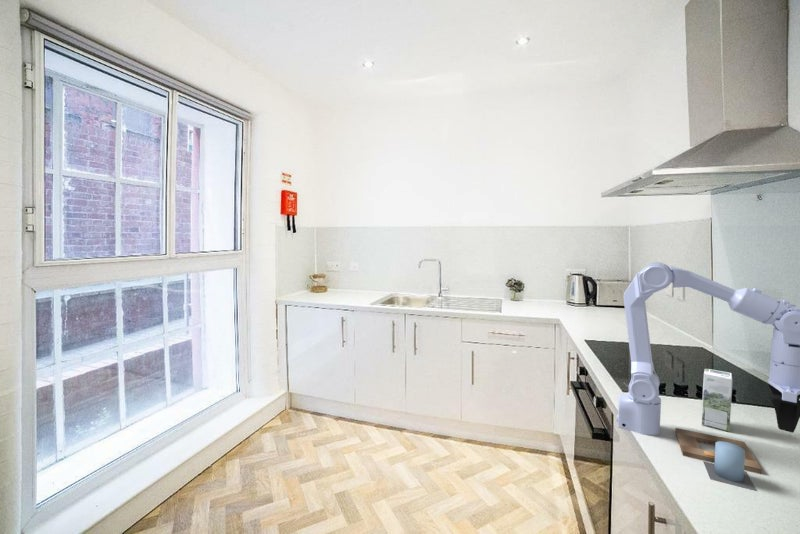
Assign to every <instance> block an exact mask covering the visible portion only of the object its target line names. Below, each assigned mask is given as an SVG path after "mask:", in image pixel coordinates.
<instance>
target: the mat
mask: <svg viewBox="0 0 800 534" xmlns="http://www.w3.org/2000/svg"><path fill="white" fill-rule="evenodd" d="M702 462H703V464H704V467H705V470H706V472H707V475H708V476H709V479H710V480H712V481H716V482H719V483H723V484H728V485H731V486H733V487H739V488H743V489H747V490H751V491H754V492H758V490H757V488H756V486H755V484H754V483H753V481H752V479H751V478H750V475H749V474H748V471H746V470H744V481H743V482H732V481H729V480H726V479H723V478H721V477H720V476H718V475H717V474H716V473H715V472H714V464H715V463H712V462H708V461H704V460H702Z"/></svg>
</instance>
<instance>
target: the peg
mask: <svg viewBox="0 0 800 534" xmlns="http://www.w3.org/2000/svg"><path fill="white" fill-rule="evenodd" d="M714 452H715V463H713V464H714V472H715V473H716V474H717V475H718V476H720V477H721V478H723V479H726V480H729V481H732V482H743V481H744V471H745V470H744V464H745V450H744V449H743V448H741V447H740V446H738V445H735V444H732V443H729V442H724V441H718V442H716V443H715V445H714Z"/></svg>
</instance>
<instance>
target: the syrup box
mask: <svg viewBox="0 0 800 534" xmlns="http://www.w3.org/2000/svg"><path fill="white" fill-rule="evenodd" d="M732 375H733V373H732V372H728V371H722V370H716V369H711V368H704V372H703V381H702V382H703V385H702V403H701V405H702V406H701V425H702V426H706V427H709V428H712V429H717V430H719V431H720V430H721V431H725V432H727V433H728V432H730V429H731V428H730V426H731V411H732V410H731V409H732V408H731V407H732V398H733V397H732V395H733V376H732Z"/></svg>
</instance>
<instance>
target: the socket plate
mask: <svg viewBox="0 0 800 534" xmlns="http://www.w3.org/2000/svg"><path fill="white" fill-rule="evenodd" d="M674 428H675V430H674V431H675V435H676V438H677V442H678V445H679V449H680V451H681V455H682V456H683V457H688V458H691V459H697V460H700V461H704V462H709V463H713V464H715V451H712V450H711V451H710V450H706V449H702V448H701V447H700V445H699V443H701V444H706V445H707V444H708V445H712V446H715V443H716V442H718V441H724V442H729V443H732V444H735V445H738V446H740V447H741V448H743V449H744V450H745V464H744V471H746V472H751V473H755V474H759V475H762V474H763V473H762V472H763V468H762V467H761V466H760V464H759V462H758V461H757V460H756V458H755V456H754V454H753V453H752V452H751V450H750V448H749V446H747V444H746V442H745V441H742V440H736V439H733V438H732V439H731V438H728V437H723V436H722V437H721V436H717V435H712V434H708V433H703V432H697V431H692V430H689V429H682V428H679V427H674Z"/></svg>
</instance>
